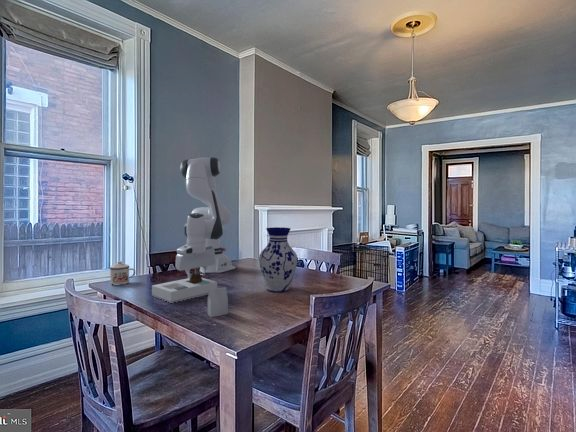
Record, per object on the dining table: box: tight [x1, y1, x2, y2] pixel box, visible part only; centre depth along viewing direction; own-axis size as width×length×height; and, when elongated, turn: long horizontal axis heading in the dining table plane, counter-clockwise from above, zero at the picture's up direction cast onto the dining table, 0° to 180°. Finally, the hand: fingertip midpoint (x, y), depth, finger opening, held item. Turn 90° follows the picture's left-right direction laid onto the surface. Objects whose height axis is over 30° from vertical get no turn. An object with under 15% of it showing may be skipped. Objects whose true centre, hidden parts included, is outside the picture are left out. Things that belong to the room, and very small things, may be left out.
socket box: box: [151, 277, 218, 304], centre depth 156 cm, size 24×16×5 cm, turn 139°
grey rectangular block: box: [207, 286, 229, 318], centre depth 130 cm, size 4×7×10 cm, turn 124°
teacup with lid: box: [109, 260, 136, 285], centre depth 176 cm, size 12×9×12 cm
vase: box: [258, 226, 299, 293], centre depth 166 cm, size 19×19×30 cm
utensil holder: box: [189, 266, 203, 284], centre depth 161 cm, size 6×6×12 cm
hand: (196, 276), depth 161 cm, fingers open, 6 cm apart
